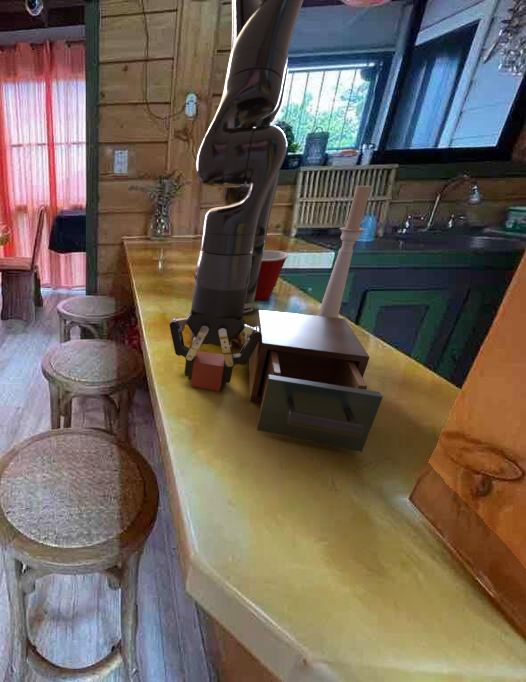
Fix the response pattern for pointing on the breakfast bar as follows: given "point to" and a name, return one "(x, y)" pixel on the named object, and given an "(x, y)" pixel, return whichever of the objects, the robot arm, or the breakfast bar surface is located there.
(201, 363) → the block
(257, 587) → the breakfast bar surface
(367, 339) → the breakfast bar surface
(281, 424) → the drawer
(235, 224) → the robot arm
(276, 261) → the plastic cup
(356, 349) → the cabinet
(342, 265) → the candlestick
